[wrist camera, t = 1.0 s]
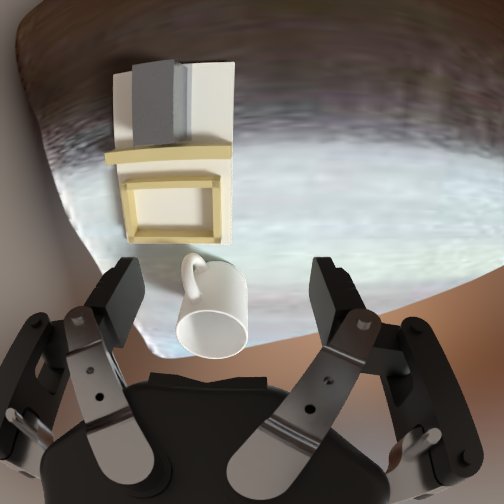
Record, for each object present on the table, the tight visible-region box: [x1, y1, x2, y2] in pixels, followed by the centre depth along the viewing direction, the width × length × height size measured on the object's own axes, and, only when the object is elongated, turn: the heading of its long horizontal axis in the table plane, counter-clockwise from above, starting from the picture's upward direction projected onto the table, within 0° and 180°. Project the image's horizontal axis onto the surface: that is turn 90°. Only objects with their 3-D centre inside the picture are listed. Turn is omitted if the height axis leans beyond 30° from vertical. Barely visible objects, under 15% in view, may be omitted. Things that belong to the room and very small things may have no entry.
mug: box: [175, 253, 248, 359], centre depth 34 cm, size 12×8×10 cm
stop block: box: [132, 59, 188, 146], centre depth 23 cm, size 8×4×6 cm, turn 178°
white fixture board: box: [105, 62, 235, 245], centre depth 29 cm, size 22×14×4 cm, turn 178°
